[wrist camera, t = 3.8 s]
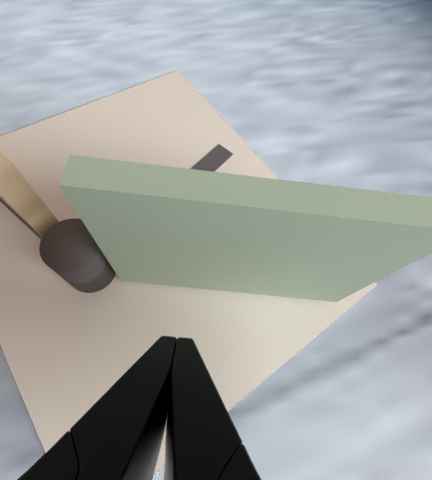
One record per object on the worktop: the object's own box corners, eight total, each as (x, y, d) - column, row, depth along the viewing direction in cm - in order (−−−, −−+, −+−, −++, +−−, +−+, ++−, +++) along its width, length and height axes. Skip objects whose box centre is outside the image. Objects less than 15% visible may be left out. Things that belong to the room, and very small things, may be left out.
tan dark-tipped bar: (126, 267, 15) (94, 206, 10) (89, 302, 14) (32, 256, 9) (-4, 153, 18) (-88, 52, 12) (-43, 177, 17) (-152, 80, 11)
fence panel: (120, 280, 15) (58, 184, 8) (125, 261, 15) (70, 154, 8) (336, 302, 15) (470, 232, 8) (334, 283, 16) (460, 201, 9)
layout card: (83, 532, 11) (80, 537, 11) (-72, 167, 17) (-77, 163, 17) (374, 286, 17) (377, 284, 16) (178, 73, 23) (178, 69, 22)
